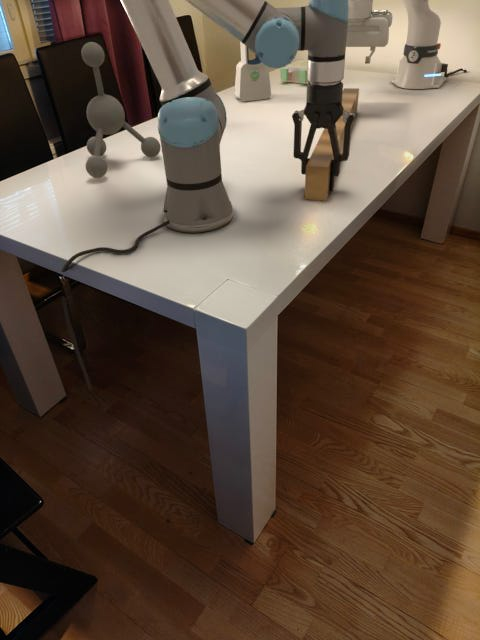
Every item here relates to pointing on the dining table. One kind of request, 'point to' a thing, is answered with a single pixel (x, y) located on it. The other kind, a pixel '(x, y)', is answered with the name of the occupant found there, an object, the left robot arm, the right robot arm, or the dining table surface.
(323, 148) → the post
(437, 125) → the dining table surface
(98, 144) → the molecular model
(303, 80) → the white green flat box
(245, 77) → the electronic device
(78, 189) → the dining table surface
